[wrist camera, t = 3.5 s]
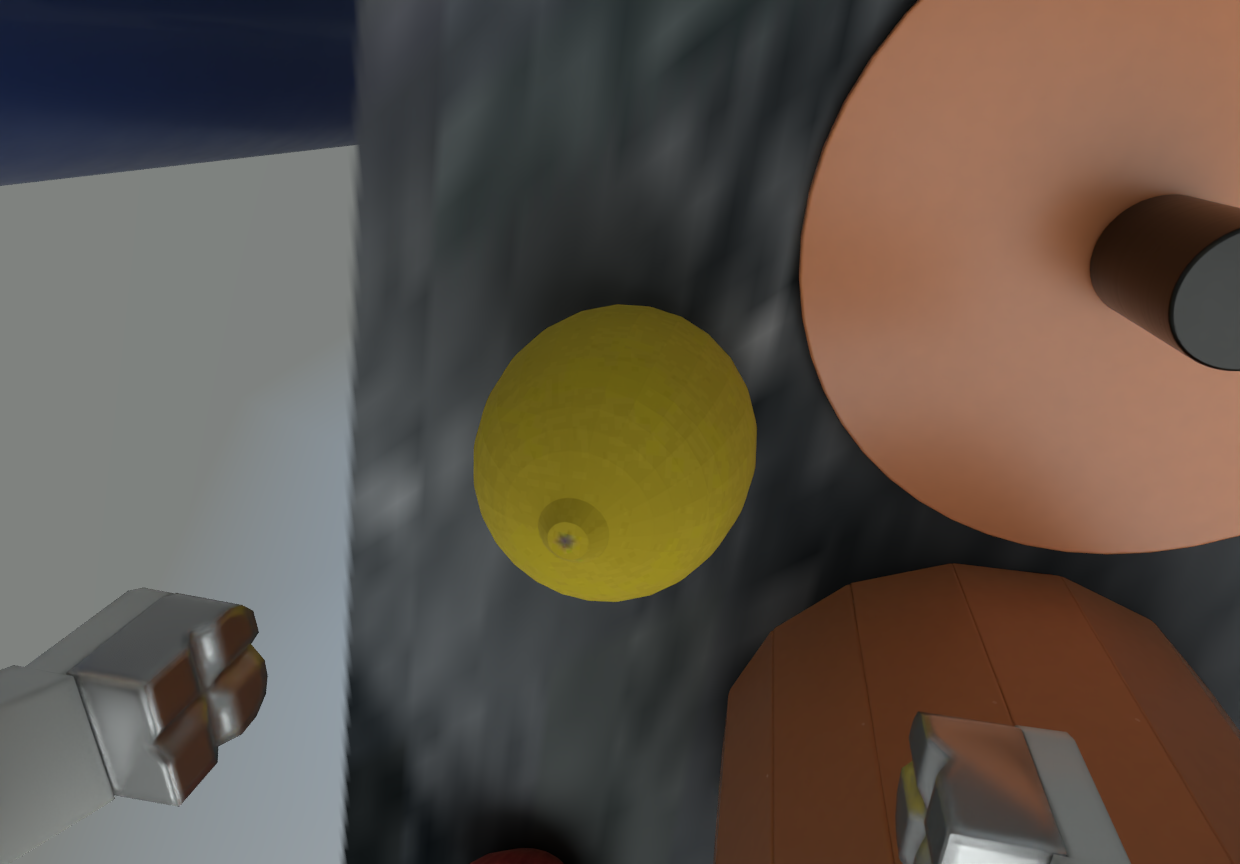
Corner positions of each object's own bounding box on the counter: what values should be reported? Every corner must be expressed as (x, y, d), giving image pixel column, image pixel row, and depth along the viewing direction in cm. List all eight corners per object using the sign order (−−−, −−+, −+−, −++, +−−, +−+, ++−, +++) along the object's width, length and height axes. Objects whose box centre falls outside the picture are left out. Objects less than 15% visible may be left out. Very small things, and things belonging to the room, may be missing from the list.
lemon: (734, 246, 18) (689, 338, 10) (785, 461, 19) (778, 668, 12) (518, 303, 19) (351, 418, 12) (584, 497, 21) (472, 698, 14)
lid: (767, 495, 20) (765, 603, 16) (844, -144, 14) (873, -244, 10) (1361, 561, 18) (1543, 705, 14) (1719, -158, 12) (2216, -292, 8)
